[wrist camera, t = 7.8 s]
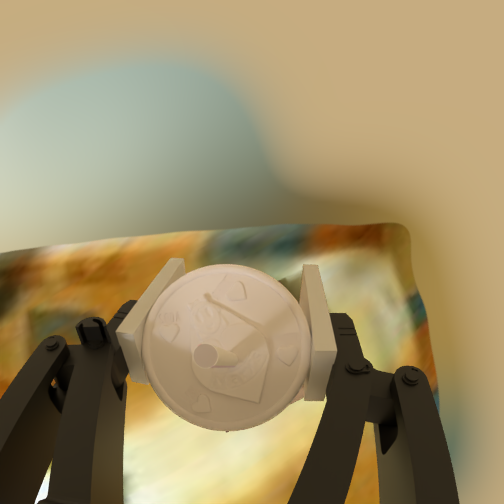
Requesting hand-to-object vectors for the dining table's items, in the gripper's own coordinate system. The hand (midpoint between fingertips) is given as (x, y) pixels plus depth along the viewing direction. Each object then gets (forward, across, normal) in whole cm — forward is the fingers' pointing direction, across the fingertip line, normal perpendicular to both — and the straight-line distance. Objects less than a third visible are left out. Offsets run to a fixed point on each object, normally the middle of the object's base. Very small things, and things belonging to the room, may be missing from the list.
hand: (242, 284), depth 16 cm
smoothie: (+1, 0, -6) cm, 6 cm away
